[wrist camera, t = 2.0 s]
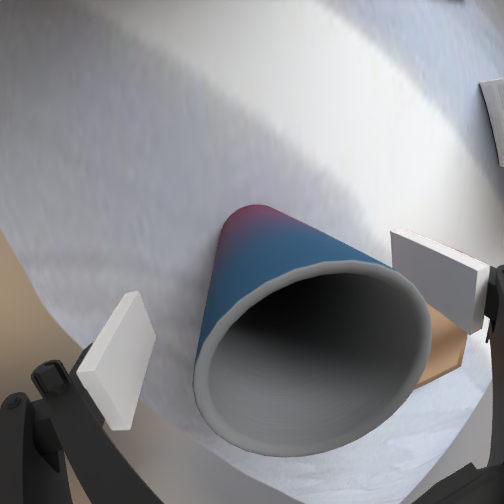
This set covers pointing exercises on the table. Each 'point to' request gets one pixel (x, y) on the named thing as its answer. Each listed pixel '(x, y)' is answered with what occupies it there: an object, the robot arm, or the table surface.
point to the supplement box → (496, 111)
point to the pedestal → (443, 347)
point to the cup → (303, 338)
